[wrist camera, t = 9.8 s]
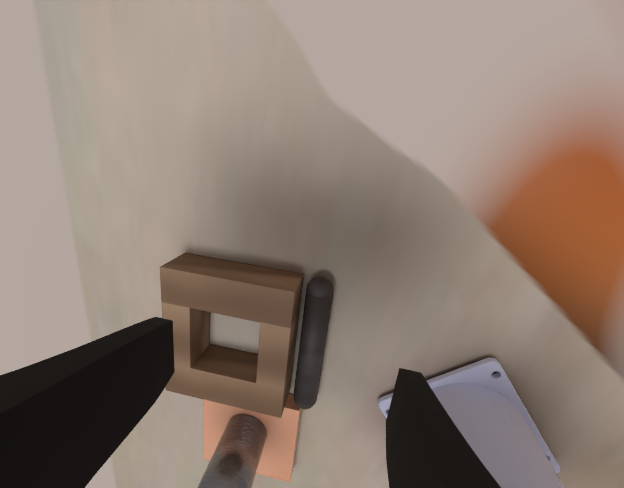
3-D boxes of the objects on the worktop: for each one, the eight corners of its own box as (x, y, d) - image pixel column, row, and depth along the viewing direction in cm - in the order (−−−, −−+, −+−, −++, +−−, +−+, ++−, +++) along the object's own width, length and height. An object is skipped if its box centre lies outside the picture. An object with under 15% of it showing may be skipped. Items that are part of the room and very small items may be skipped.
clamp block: (184, 248, 19) (159, 262, 17) (336, 275, 18) (331, 293, 16) (187, 368, 22) (166, 393, 20) (317, 398, 21) (311, 429, 19)
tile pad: (211, 376, 22) (203, 388, 21) (303, 397, 21) (299, 410, 20) (210, 444, 24) (203, 458, 23) (293, 466, 23) (290, 482, 22)
